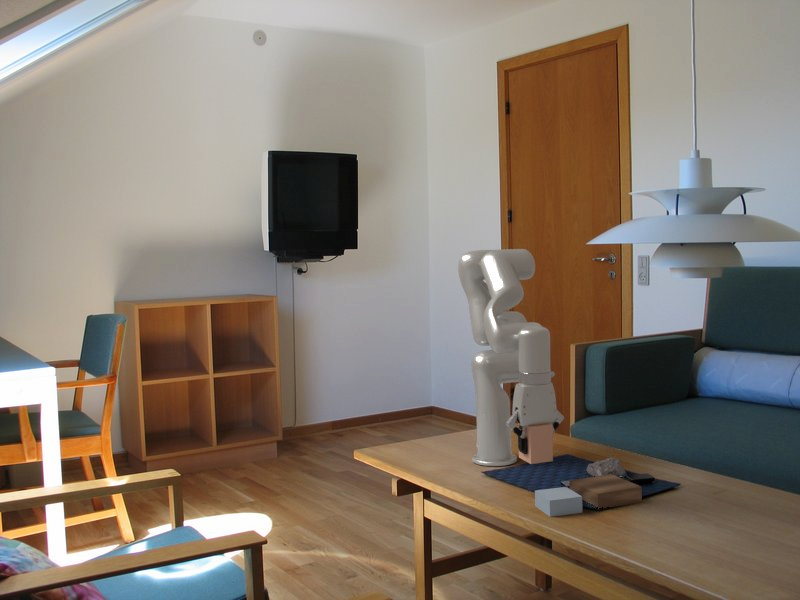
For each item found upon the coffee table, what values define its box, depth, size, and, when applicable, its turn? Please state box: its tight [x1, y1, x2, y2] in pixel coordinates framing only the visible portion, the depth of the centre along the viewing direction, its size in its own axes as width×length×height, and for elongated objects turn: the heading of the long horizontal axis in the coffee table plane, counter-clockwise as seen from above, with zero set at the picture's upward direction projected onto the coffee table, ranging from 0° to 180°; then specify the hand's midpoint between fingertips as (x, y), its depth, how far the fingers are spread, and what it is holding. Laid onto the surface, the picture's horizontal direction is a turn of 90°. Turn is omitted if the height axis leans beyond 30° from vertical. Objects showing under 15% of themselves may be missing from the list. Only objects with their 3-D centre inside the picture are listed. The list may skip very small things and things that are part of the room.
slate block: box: [534, 486, 583, 518], centre depth 185 cm, size 8×8×4 cm
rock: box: [586, 457, 627, 477], centre depth 212 cm, size 9×11×4 cm
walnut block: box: [568, 474, 643, 510], centre depth 192 cm, size 12×12×4 cm
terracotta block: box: [517, 423, 554, 465], centre depth 196 cm, size 6×6×9 cm
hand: (535, 450), depth 196 cm, fingers closed on terracotta block, 6 cm apart
